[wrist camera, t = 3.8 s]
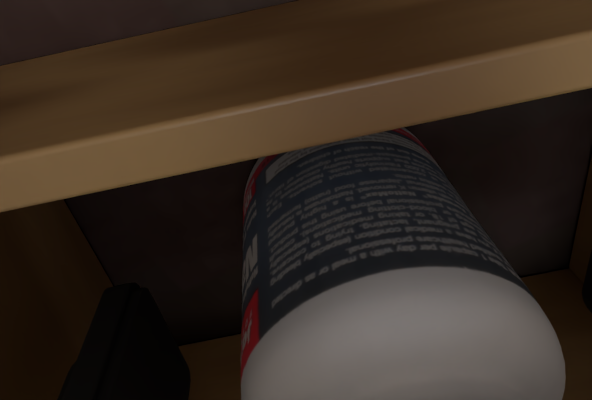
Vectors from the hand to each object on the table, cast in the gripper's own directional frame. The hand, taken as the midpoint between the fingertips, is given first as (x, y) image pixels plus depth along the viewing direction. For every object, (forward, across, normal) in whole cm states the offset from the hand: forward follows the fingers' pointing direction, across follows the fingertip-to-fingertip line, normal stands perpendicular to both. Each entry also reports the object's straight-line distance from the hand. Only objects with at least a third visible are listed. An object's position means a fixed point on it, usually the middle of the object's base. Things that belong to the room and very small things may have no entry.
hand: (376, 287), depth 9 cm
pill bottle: (+4, 0, 0) cm, 4 cm away
